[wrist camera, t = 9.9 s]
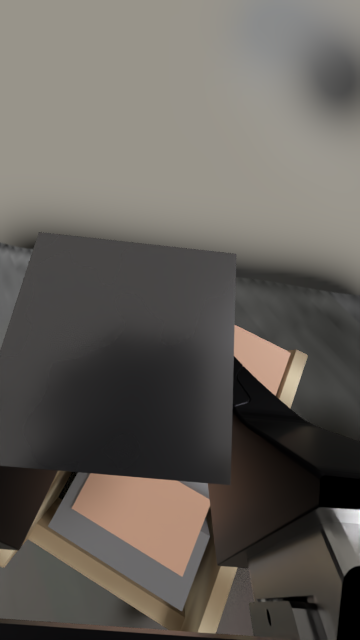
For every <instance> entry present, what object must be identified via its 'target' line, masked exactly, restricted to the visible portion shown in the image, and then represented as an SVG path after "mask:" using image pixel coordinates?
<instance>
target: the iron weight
mask: <svg viewBox="0 0 360 640" xmlns="http://www.w3.org/2000/svg"><path fill="white" fill-rule="evenodd" d="M235 287H236V254H233V253H232V254H231V253H224V252H214V251H205V250H196V249H187V248H178V247H168V246H160V245H151V244H142V243H133V242H123V241H114V240H105V239H96V238H87V237H78V236H68V235H60V234H51V233H42V232H39V234H38V237H37V240H36V243H35V246H34V249H33V252H32V255H31V258H30V261H29V264H28V267H27V270H26V274H25V277H24V280H23V283H22V286H21V289H20V292H19V295H18V298H17V301H16V304H15V307H14V310H13V313H12V317H11V320H10V323H9V326H8V329H7V332H6V335H5V338H4V341H3V344H2V347H1V350H0V466H10V467H22V468H34V469H46V470H57V471H69V472H81V473H93V474H104V475H116V476H128V477H140V478H151V479H163V480H175V481H187V482H198V483H210V484H222V485H231V449H232V409H233V368H234V327H235Z"/></svg>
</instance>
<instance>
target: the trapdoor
mask: <svg viewBox="0 0 360 640" xmlns="http://www.w3.org/2000/svg"><path fill="white" fill-rule="evenodd" d="M290 354H291V353H290V352H288V351H286V350H284V349H282V348H280V347H278V346H276V345H274V344H272V343H270V342H268V341H266V340H264V339H262V338H260V337H258V336H256V335H254V334H252V333H250V332H248V331H246V330H244V329H242V328H240V327H238V326H236V325H235V327H234V356H235V357H236V358H237V359H238V361H239V362H240V363H241V364H242V365H243V366H244V367H245V368H246V369H247V370H248V371H249V372H250V373H251V374H252V375H253V376H254V377H255V378H256V379H257V380H258V381H259V382H261V383H262V384H263V385H264V386H265V387H266V388H267V389H268V390H269V391H271V392H272V393H273V394H274V395H275V396H276V393H277V391H278V388H279V385H280V382H281V379H282V377H283V374H284V371H285V368H286V365H287V362H288V360H289V357H290ZM209 507H210V499H209V490H208V483H198V482H187V481H175V480H163V479H151V478H140V477H128V476H116V475H104V474H93V473H81V472H78V473H77V475H76V477H75V478H74V480H73V482H72V484H71V486H70V487H69V489H68V491H67V493H66V495H65V496H64V498H63V500H62V502H61V504H60V505H59V507H58V509H57V511H56V513H55V514H54V516H53V518H52V520H51V522H50V524H49V525H48V527H49V528H51V529H52V530H54V531H56V532H57V533H59V534H60V535H62V536H63V537H65V538H67V539H68V540H70V541H71V542H73V543H74V544H76V545H78V546H79V547H81V548H82V549H84V550H85V551H87V552H89V553H90V554H92V555H93V556H95V557H97V558H98V559H100V560H101V561H103V562H104V563H106V564H108V565H109V566H111V567H112V568H114V569H115V570H117V571H119V572H120V573H122V574H123V575H125V576H126V577H128V578H130V579H131V580H133V581H134V582H136V583H137V584H139V585H141V586H142V587H144V588H145V589H147V590H149V591H150V592H152V593H153V594H155V595H156V596H158V597H160V598H161V599H163V600H164V601H166V602H167V603H169V604H171V605H172V606H174V607H175V608H177V609H178V610H180V611H182V610H183V608H184V605H185V602H186V599H187V597H188V594H189V591H190V589H191V586H192V583H193V581H194V578H195V575H196V573H197V570H198V567H199V565H200V562H201V559H202V557H203V554H204V551H205V549H206V546H207V543H208V541H209V538H210V534H209V530H208V525H207V520H206V515H207V512H208V509H209Z"/></svg>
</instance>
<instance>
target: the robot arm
mask: <svg viewBox="0 0 360 640" xmlns="http://www.w3.org/2000/svg"><path fill="white" fill-rule="evenodd" d="M57 472H58V471H57V470H46V469H34V468H22V467H10V466H0V549H6V550H19V549H20V548H21V546H22V544H23V542H24V540H25V538H26V536H27V534H28V532H29V530H30V528H31V526H32V524H33V522H34V520H35V517H36V515H37V513H38V511H39V509H40V507H41V505H42V503H43V501H44V499H45V497H46V495H47V493H48V491H49V489H50V487H51V484H52V482H53V480H54V478H55V476H56V474H57ZM208 490H209V499H210V508H211V516H212V525H213V534H214V543H215V551H216V559H217V565H218V566H226V567H239V568H249V573H250V579H251V585H252V591H253V597H254V602H250V603H249V609H250V616H251V622H252V628H253V635H254V636H243V635H228V634H214V633H200V632H185V631H171V630H157V629H143V628H128V627H114V626H100V625H85V624H71V623H57V622H43V621H28V620H14V619H0V640H360V442H359V441H356V440H353V439H350V438H347V437H344V436H341V435H339V434H336V433H333V432H330V431H327V430H324V429H321V428H319V427H317V426H314V425H312V424H310V423H309V422H307V421H305V420H304V419H302V418H301V417H300V416H298V415H297V414H296V413H295V412H294V411H292V410H291V409H290V408H289V407H288V406H287V405H286V404H284V403H283V402H282V401H281V400H280V399H279V398H277V397H276V396H275V395H274V394H273V393H272V392H271V391H269V390H268V389H267V388H266V387H265V386H264V385H263V384H262V383H261V382H259V381H258V380H257V379H256V378H255V377H254V376H253V375H252V374H251V373H250V372H249V371H248V370H247V369H246V368H245V367H244V366H243V365H242V364H241V363H240V362H239V361H238V359H237V358H236V357H235V356H234V368H233V409H232V449H231V485H222V484H210V483H208Z"/></svg>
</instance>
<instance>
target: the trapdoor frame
mask: <svg viewBox="0 0 360 640" xmlns="http://www.w3.org/2000/svg"><path fill="white" fill-rule="evenodd" d="M288 352H290V353H291V354H290V357H289V360H288V362H287V365H286V368H285V371H284V374H283V377H282V379H281V382H280V385H279V388H278V391H277V393H276V397H277V398H279V399H280V400H281V401H282V402H283V403H284V404H286V405H287V406H288V407H289V408H291V405H292V402H293V399H294V396H295V393H296V390H297V387H298V384H299V381H300V378H301V375H302V372H303V369H304V366H305V363H306V360H307V357H308V355H306V354H304V353H302V352H300V351H298V350H288ZM71 473H72V472H69V471H58V472H57V474H56V476H55V478H54V480H53V482H52V484H51V487H50V489H49V491H48V493H47V495H46V497H45V499H44V501H43V503H42V505H41V507H40V509H39V511H38V513H37V515H36V517H35V520H34V522H33V524H32V526H31V528H30V530H29V532H28V534H27V536H26V538H25V540H24V542H25V541H26V540H27V539H29V540H30V541H32V542H34V543H35V544H37V545H38V546H40V547H41V548H43V549H44V550H46V551H47V552H49V553H51V554H52V555H54V556H55V557H57V558H58V559H60V560H61V561H63V562H65V563H66V564H68V565H69V566H71V567H72V568H74V569H75V570H77V571H78V572H80V573H82V574H83V575H85V576H86V577H88V578H89V579H91V580H92V581H94V582H95V583H97V584H99V585H100V586H102V587H103V588H105V589H106V590H108V591H109V592H111V593H113V594H114V595H116V596H117V597H119V598H120V599H122V600H123V601H125V602H126V603H128V604H130V605H131V606H133V607H134V608H136V609H137V610H139V611H140V612H142V613H143V614H145V615H147V616H148V617H150V618H151V619H153V620H154V621H156V622H157V623H159V624H161V625H162V626H164V627H165V628H167V629H168V630H171V631H185V632H200V633H214V634H216V631H217V628H218V625H219V622H220V619H221V615H222V612H223V609H224V606H225V603H226V600H227V597H228V594H229V591H230V588H231V585H232V582H233V579H234V576H235V573H236V570H237V567H226V566H218V565H217V559H216V551H215V543H214V534H213V525H212V516H211V508H210V507H209V509H208V512H207V515H206V520H207V525H208V530H209V534H210V538H209V541H208V543H207V546H206V549H205V551H204V554H203V557H202V559H201V562H200V565H199V567H198V570H197V573H196V575H195V578H194V581H193V583H192V586H191V589H190V591H189V594H188V597H187V599H186V602H185V605H184V608H183V610H182V611H180V610H178V609H177V608H175V607H174V606H172V605H171V604H169V603H167V602H166V601H164V600H163V599H161V598H160V597H158V596H156V595H155V594H153V593H152V592H150V591H149V590H147V589H145V588H144V587H142V586H141V585H139V584H137V583H136V582H134V581H133V580H131V579H130V578H128V577H126V576H125V575H123V574H122V573H120V572H119V571H117V570H115V569H114V568H112V567H111V566H109V565H108V564H106V563H104V562H103V561H101V560H100V559H98V558H97V557H95V556H93V555H92V554H90V553H89V552H87V551H85V550H84V549H82V548H81V547H79V546H78V545H76V544H74V543H73V542H71V541H70V540H68V539H67V538H65V537H63V536H62V535H60V534H59V533H57V532H56V531H54V530H52V529H51V528H49V527H48V525H49V524H50V522H51V520H52V518H53V516H54V514H55V513H56V511H57V509H58V507H59V505H60V504H61V502H62V499H60V498H59V495H60V493H61V491H62V489H63V488H64V486H65V484H66V482H67V480H68V479H69V477H70V475H71ZM24 542H23V544H24ZM23 544H22V545H23ZM17 551H18V550H6V549H0V566H1V567H3V568H4V567H5V566H6V565H7V563H8V562H9V561H10V560H11V558H12V557H13V556H14V555H15V554H16V552H17Z"/></svg>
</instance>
